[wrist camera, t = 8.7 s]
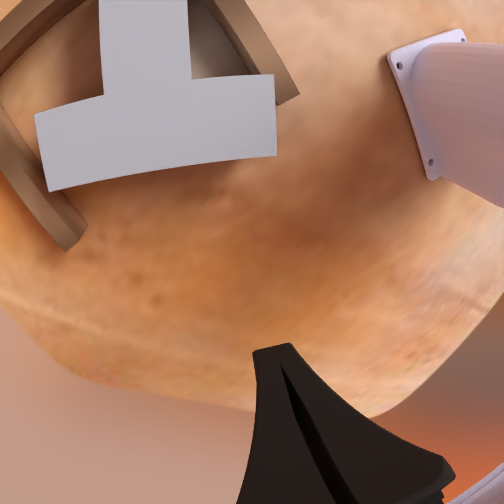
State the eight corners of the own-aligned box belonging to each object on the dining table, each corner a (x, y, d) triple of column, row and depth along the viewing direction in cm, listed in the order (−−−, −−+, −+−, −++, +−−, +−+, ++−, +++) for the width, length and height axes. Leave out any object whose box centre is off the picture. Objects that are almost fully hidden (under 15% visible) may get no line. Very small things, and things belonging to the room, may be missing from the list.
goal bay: (287, 93, 15) (304, 94, 13) (74, 236, 16) (62, 257, 14) (174, -73, 9) (175, -94, 7) (-31, 85, 10) (-55, 88, 8)
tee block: (256, 141, 16) (277, 155, 13) (75, 169, 15) (49, 192, 11) (246, -29, 11) (264, -58, 8) (59, 0, 10) (30, -18, 6)
